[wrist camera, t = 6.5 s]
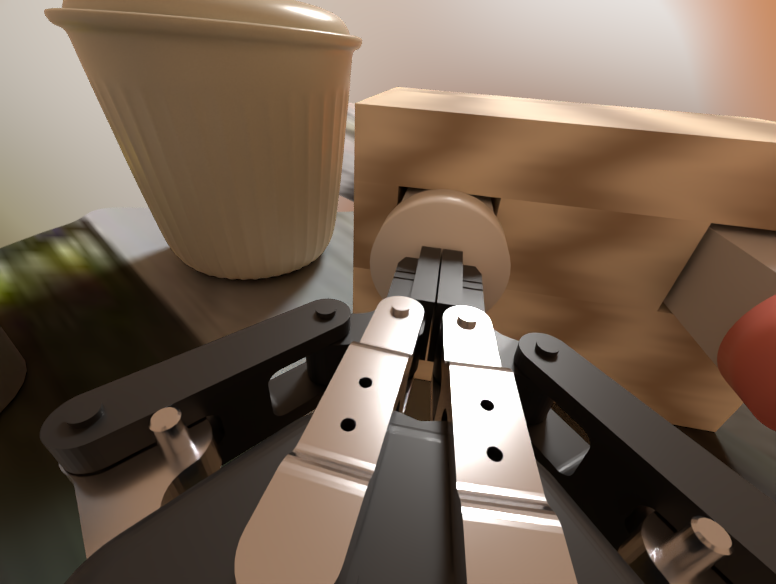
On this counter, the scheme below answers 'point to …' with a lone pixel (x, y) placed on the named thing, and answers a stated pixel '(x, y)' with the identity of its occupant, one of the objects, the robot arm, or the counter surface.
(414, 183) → the block
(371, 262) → the beige plug
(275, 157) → the canister
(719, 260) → the red plug
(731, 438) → the counter surface
